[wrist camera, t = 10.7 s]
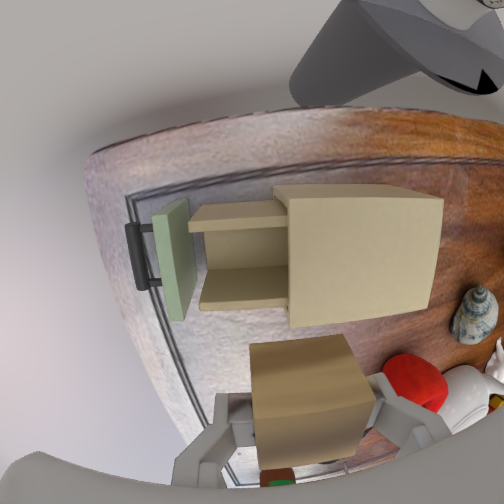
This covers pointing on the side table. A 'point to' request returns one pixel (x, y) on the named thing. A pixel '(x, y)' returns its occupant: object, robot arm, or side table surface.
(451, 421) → the teapot
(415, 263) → the cabinet
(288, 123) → the side table surface
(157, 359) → the side table surface
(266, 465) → the block
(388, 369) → the apple
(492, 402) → the torch
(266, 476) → the bottle
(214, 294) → the drawer
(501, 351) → the rabbit figurine
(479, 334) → the seashell
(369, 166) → the side table surface
